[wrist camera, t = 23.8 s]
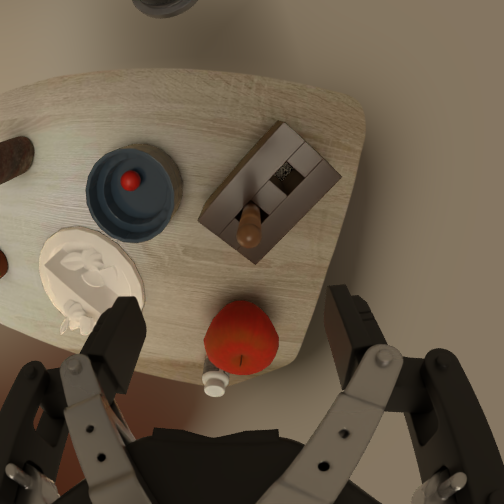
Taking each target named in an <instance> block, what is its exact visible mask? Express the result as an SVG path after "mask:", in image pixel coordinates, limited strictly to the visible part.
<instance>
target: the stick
mask: <svg viewBox="0 0 504 504" xmlns="http://www.w3.org/2000/svg"><path fill="white" fill-rule="evenodd" d="M236 237H237V241H238V243H239V244H240V245H241V246H243V247H245V248H253V247H256V246H257V245H258V244H259V243H260V241H261V238H262V232H261V218H260V207H259V206H257V205H256V204H255V203H254V202H253V201H251V200H250V201H249V202H248V203H247V204H246V205H245V206H244V208H243V212H242V215H241V219H240V223H239V226H238V230H237V234H236Z"/></svg>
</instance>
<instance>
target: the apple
mask: <svg viewBox="0 0 504 504" xmlns="http://www.w3.org/2000/svg"><path fill="white" fill-rule="evenodd" d="M204 345H205V349H206V353H207V356H208V358H209V360H210V361H211V362H212V363H213V364H214V365H215V366H216V367H217V368H219V369H221V370H224V371H226V372H228V373H231V374H237V375H250V374H253V373H257V372H259V371H262V370H263V369H265V368H266V367H267V366H269V365H270V364H271V362H272V361H273V359H274V358H275V356H276V353H277V350H278V347H279V336H278V334H277V332H276V330H275V328H274V326H273V324H272V322H271V321H270V319H269V317H268V316H267V315H266V314H265V313H264V312H263V311H262V310H261V309H260V308H259V307H258V306H256V305H255V304H254V303H251V302H248V301H234V302H231V303H229V304H227V305H226V306H225V307H224V308H223V309H222V310H221V311H220V312H219V313H218V314H217V315H216V316H215V317H214V318H213V320H212V322H211V324H210V326H209V328H208V330H207V333H206V335H205V338H204Z"/></svg>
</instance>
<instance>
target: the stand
mask: <svg viewBox="0 0 504 504" xmlns="http://www.w3.org/2000/svg"><path fill="white" fill-rule="evenodd" d="M286 161H287V162H288V163H289V164H290V165H291V166H292V167H293V168H294V169H293V170H292V171H291V172H290V173H289V174H288V175H287V176H286V177H285V179H284V180H283V181H282V182H281V181H280V180H279V179H278V178H277V177H276V176H274V174H275V173H276V172H277V170H278V169H279V168H280V167H281V166H282V165H283V164H284V163H285V162H286ZM341 178H342V176H341V175H340V174H339V173H338V172H337V171H336V170H335V169H334V168H333V167H332V166H331V165H330V164H329V163H328V162H327V161H326V160H325V159H324V158H323V157H322V156H321V155H320V154H319V153H318V152H317V151H316V150H314V149H313V148H312V147H311V146H310V145H309V144H308V143H307V142H306V141H305V140H304V139H303V138H302V137H301V136H299V135H298V134H297V133H296V132H295V131H294V130H293V129H292V128H291V127H289V126H288V125H287V124H286V123H285V122H282V121H279V120H278V121H277V122H276V123H275V124H274V125H273V126H272V127H271V128H270V130H269V131H268V132H267V133H266V134H265V135H264V136H263V137H262V138H261V139H260V140H259V141H258V143H257V144H256V145H255V146H254V147H253V148H252V149H251V150H250V151H249V153H248V154H247V155H246V156H245V157H244V158H243V159H242V160H241V162H240V163H239V164H238V165H237V166H236V167H235V168H234V170H233V171H232V172H231V173H230V174H229V175H228V177H227V178H226V179H225V180H224V181H223V182H222V184H221V185H220V186H219V187H218V188H217V189H216V191H215V192H214V193H213V194H212V195H211V197H210V198H209V199H208V200H207V201H206V203H205V205H204V207H203V209H202V211H201V213H200V216H199V218H198V220H197V221H198V222H200V223H201V224H202V225H203V226H205V227H206V228H207V229H209V230H210V231H211V232H213V233H214V234H215V235H217V236H218V237H219V238H221V239H222V240H223V241H225V242H226V243H227V244H229V245H230V246H231V247H233V248H234V249H235V250H237V251H238V252H239V253H240V254H242V255H243V256H244V257H246V258H247V259H248V260H250V261H251V262H252V263H254V264H255V265H256V264H257V263H258V262H259V261H260V260H261V259H262V258H263V257H264V256H265V255H266V254H267V253H268V252H269V251H270V250H271V249H272V248H273V247H274V246H275V245H276V244H277V243H278V242H279V241H280V240H281V239H282V238H283V237H284V236H285V235H286V234H287V233H288V232H289V231H290V230H291V229H292V228H293V227H294V226H295V225H296V223H297V222H298V221H299V220H300V219H301V218H302V217H303V216H304V215H305V214H306V213H307V212H308V211H309V210H310V209H311V208H312V207H313V206H314V205H315V204H316V203H317V202H318V201H319V200H320V199H321V198H322V197H323V196H324V195H325V194H326V193H327V192H328V191H329V190H330V189H331V188H332V187H333V186H334V185H335V184H336V183H337V182H338V181H339V180H340V179H341ZM250 200H251V201H253V202H254V203H255V204H256V205H257V206H259V207H260V218H261V232H262V238H261V241H260V243H259V244H258V245H257V246H256V247H253V248H245V247H243V246H241V245H240V244H239V243H238V241H237V237H236V234H237V230H238V226H239V223H240V219H241V215H242V212H243V208H244V206H245V205H246V204H247V203H248V202H249V201H250Z"/></svg>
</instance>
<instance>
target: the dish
mask: <svg viewBox="0 0 504 504" xmlns="http://www.w3.org/2000/svg"><path fill="white" fill-rule="evenodd" d="M39 273H40V276H41V280H42V284H43V287H44V289H45V291H46V293H47V295H48V296H49V298H50V300H51V302H52V303H53V305H54V306H55V307H56V308H57V309H58V310H59V311H60V312H61V313H62V314H63V315H64V316H65V320H64V321H63V322H62V324H61V327H60V334H61V335H62V334H63V333H64V332H65V331H66V329H67V328H68V326H69V327H70V329H71V330H74V329H77V328H79V327H80V332H81V335H87V334H89V333H91V332H92V331H93V328H94V326H95V325H96V322H97V321H98V319H99V317H100V315H101V314H102V313H103V312H105V311H106V310H107V309H108V308H112V306H113V304H114V302H115V301H116V299H117V297H119V296H135V297H136V298H137V300H138V303H139V306H140V309H141V312H142V309H143V306H144V303H145V296H144V287H143V281H142V279H141V277H140V275H139V273H138V271H137V268H136V266H135V264H134V262H133V261H132V260H131V259H130V258H129V256H128V255H127V254H126V253H125V252H124V251H123V249H122V248H121V247H120V246H119V245H118V244H117V243H115V242H114V241H112V240H111V239H109V238H108V237H106V236H105V235H103V234H102V233H100V232H98V231H95V230H91V229H88V228H84V227H80V226H78V227H70V228H63V229H61V230H60V231H58V232H57V233H56V234H54V235H53V236H51V237H50V238H49V239H48V240H46V242H45V244H44V247H43V249H42V251H41V253H40V260H39Z"/></svg>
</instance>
